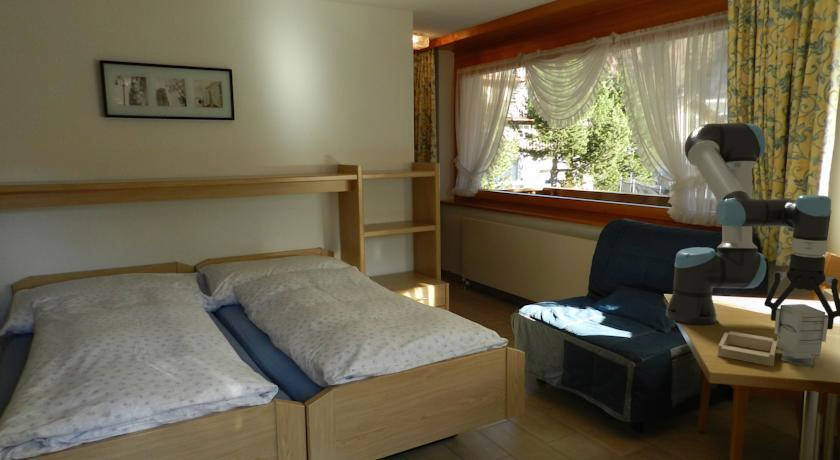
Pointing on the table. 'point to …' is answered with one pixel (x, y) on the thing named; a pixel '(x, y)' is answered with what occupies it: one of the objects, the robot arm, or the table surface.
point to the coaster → (797, 360)
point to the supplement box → (800, 331)
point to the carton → (749, 342)
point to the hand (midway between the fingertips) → (799, 336)
